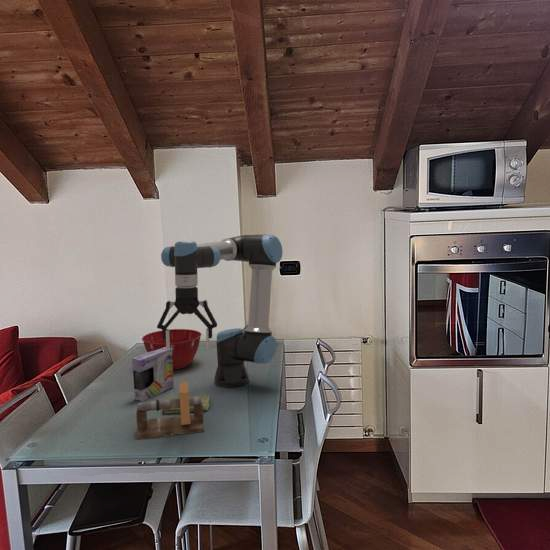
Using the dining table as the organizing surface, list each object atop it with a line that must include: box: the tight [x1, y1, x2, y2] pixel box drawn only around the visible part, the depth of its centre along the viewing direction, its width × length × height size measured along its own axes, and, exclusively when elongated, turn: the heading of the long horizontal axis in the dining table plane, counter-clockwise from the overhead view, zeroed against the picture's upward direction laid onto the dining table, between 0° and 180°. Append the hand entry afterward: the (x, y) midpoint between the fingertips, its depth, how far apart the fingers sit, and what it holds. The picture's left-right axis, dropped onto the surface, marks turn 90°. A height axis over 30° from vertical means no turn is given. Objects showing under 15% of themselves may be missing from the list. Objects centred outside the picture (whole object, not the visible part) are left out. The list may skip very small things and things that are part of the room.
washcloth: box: [161, 394, 211, 415], centre depth 186 cm, size 13×18×3 cm
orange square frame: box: [178, 381, 191, 425], centre depth 167 cm, size 3×11×11 cm, turn 12°
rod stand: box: [135, 397, 205, 440], centre depth 167 cm, size 22×12×10 cm, turn 102°
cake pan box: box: [131, 347, 175, 402], centre depth 200 cm, size 19×5×18 cm, turn 147°
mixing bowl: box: [141, 328, 202, 371], centre depth 239 cm, size 28×28×15 cm
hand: (188, 348), depth 167 cm, fingers open, 13 cm apart
